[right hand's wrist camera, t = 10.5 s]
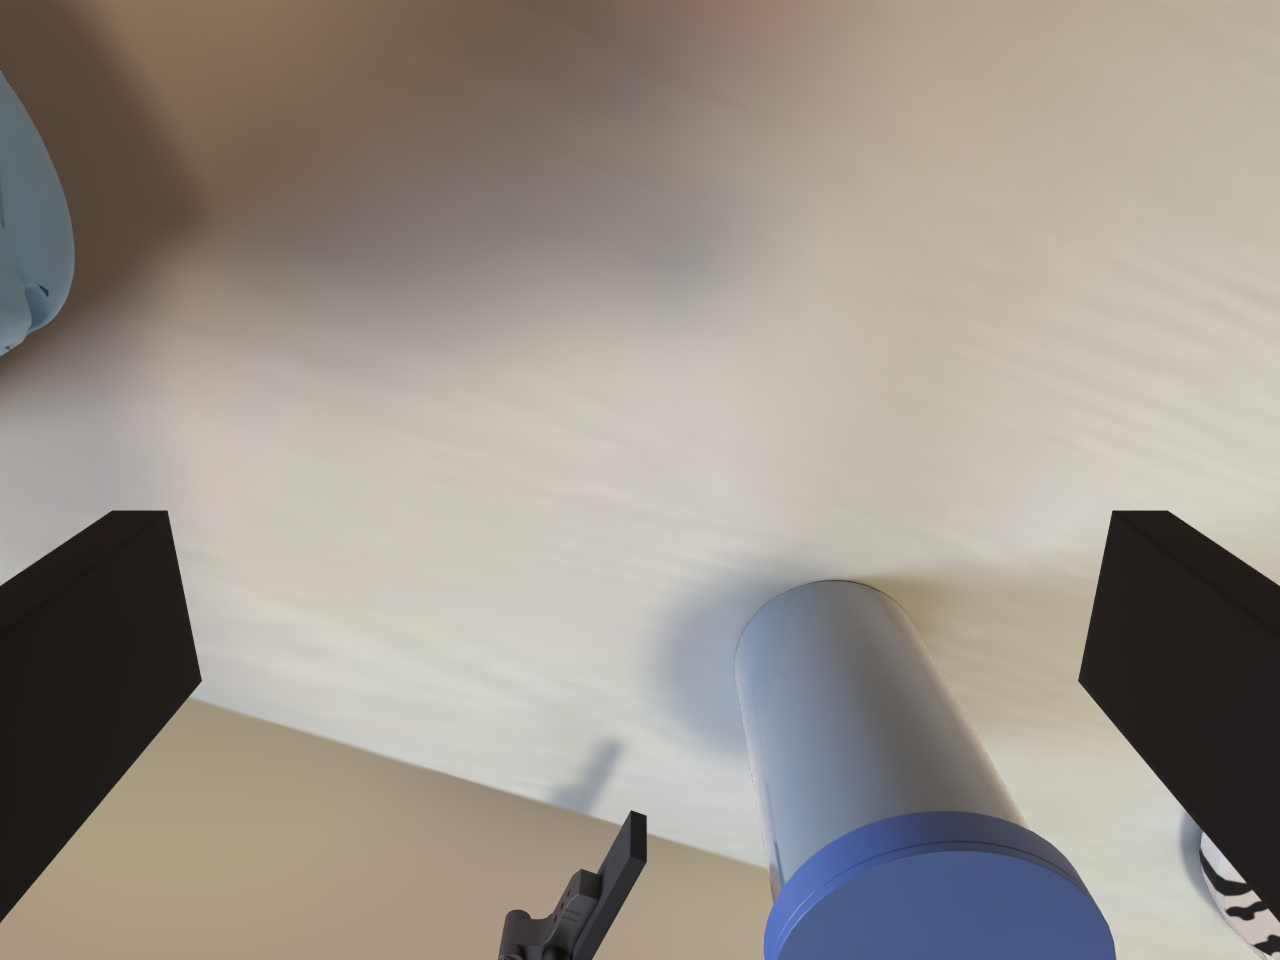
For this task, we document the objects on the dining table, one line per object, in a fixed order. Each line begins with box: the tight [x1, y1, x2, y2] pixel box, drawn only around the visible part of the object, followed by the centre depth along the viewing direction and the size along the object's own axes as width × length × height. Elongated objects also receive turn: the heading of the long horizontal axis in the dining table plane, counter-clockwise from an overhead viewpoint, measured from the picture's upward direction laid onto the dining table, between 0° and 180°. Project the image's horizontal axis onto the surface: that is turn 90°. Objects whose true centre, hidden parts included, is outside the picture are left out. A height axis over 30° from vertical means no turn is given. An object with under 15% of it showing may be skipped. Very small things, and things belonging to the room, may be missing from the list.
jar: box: [734, 581, 1031, 902], centre depth 34 cm, size 9×9×17 cm
